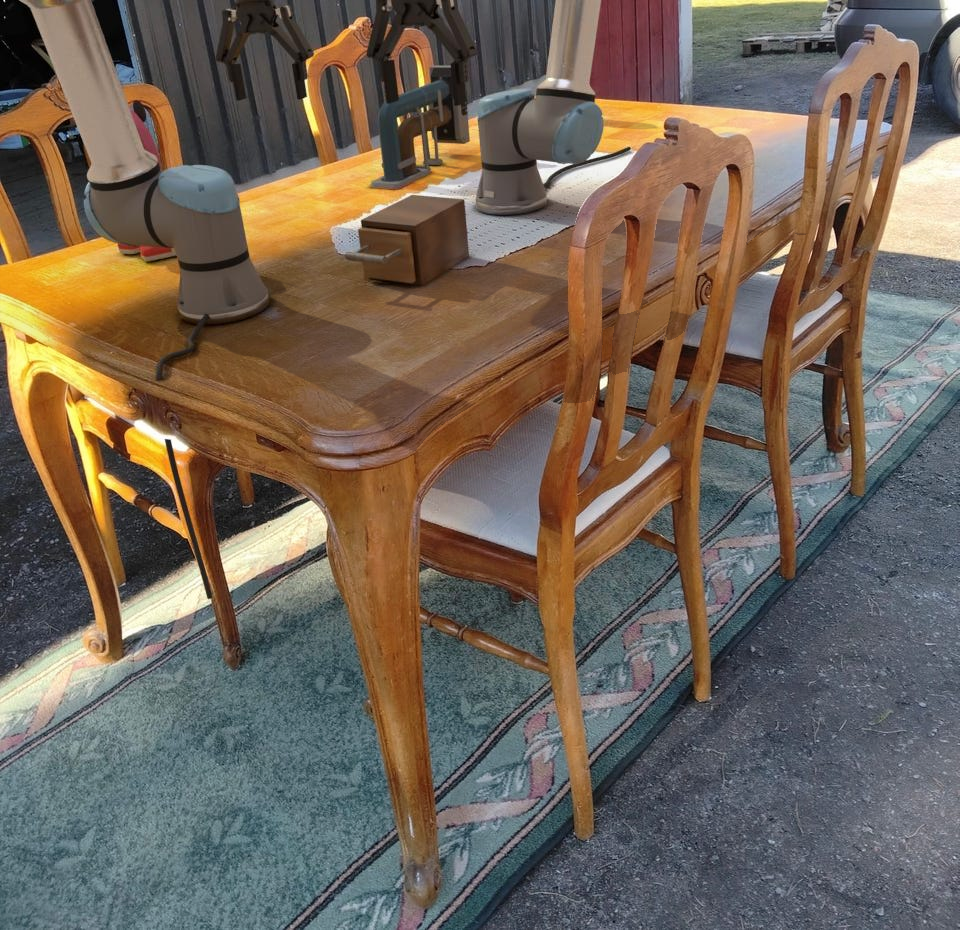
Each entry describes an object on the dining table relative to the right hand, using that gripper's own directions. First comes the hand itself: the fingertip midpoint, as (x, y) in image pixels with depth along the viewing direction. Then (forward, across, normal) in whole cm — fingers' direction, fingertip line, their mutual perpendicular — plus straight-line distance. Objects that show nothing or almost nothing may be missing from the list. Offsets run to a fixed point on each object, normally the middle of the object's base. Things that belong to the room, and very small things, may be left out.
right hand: (426, 103), depth 162 cm
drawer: (+27, +4, +8) cm, 29 cm away
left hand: (+2, +43, -10) cm, 45 cm away
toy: (+28, +62, +12) cm, 70 cm away
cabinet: (+28, +4, +2) cm, 29 cm away
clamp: (+29, +44, -59) cm, 79 cm away
